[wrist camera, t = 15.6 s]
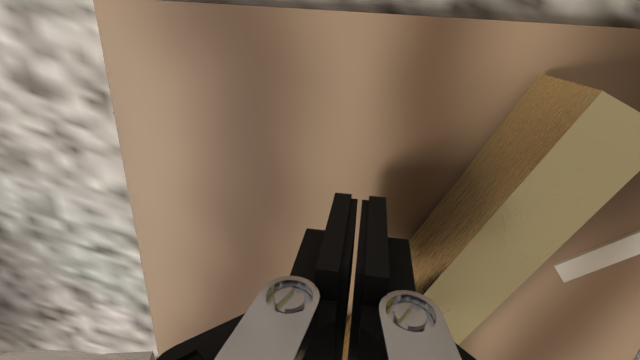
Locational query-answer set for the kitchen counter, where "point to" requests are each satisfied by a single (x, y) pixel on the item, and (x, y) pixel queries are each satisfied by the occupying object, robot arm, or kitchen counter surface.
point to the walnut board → (349, 153)
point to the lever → (522, 198)
